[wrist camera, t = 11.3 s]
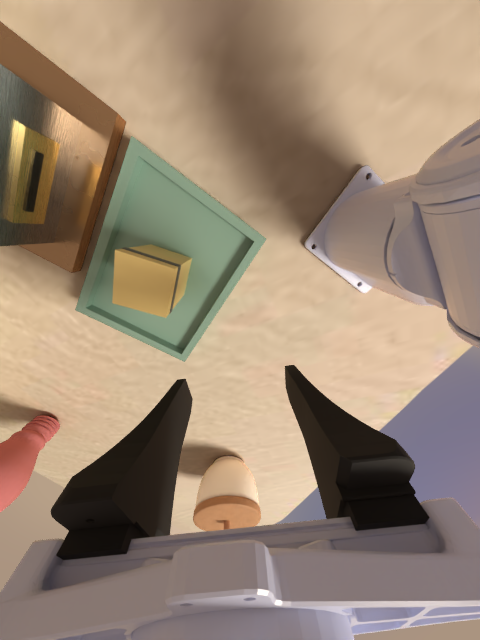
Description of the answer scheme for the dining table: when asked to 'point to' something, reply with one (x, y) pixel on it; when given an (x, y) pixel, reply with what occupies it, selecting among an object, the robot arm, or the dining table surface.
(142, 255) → the block
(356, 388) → the dining table surface
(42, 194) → the box
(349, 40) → the dining table surface
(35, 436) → the light bulb
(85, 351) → the dining table surface
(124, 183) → the tray
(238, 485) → the lidded jar
